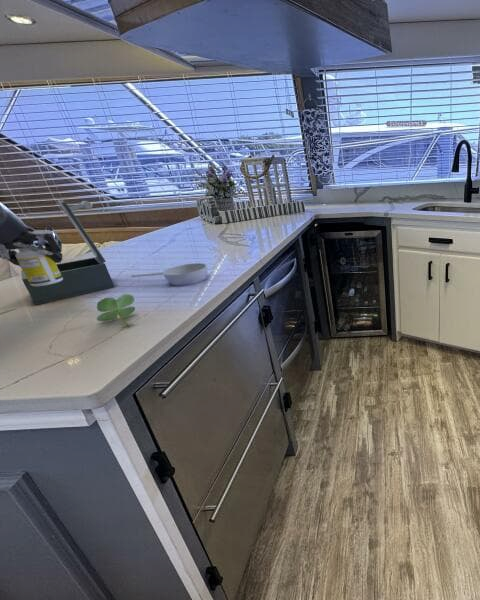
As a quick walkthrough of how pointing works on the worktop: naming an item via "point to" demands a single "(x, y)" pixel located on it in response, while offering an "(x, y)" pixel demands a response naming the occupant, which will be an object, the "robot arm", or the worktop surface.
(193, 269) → the saucepan
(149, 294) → the worktop surface
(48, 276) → the supplement bottle
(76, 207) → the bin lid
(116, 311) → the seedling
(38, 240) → the robot arm
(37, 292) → the bin
